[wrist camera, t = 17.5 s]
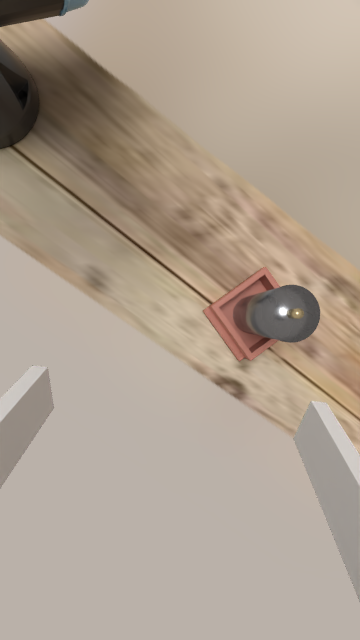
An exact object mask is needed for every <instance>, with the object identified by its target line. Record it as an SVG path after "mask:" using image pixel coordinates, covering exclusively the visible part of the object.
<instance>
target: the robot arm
mask: <svg viewBox="0 0 360 640" xmlns="http://www.w3.org/2000/svg"><path fill="white" fill-rule="evenodd" d="M88 1H89V0H0V27H2V26H7V25H12V24H17V23H23V22H28V21H33V20H38V19H44V18H48V17H54V16H63V15H65V13H66V12H68V11H71V10H74V9H78V8H81V7H83V6H84V5H86V4H87V2H88ZM38 108H39V97H38V92H37V88H36V85H35V83H34V81H33V79H32V77H31V76H30V74H29V72H28V71H27V69H26V67H25V66H24V64H23V63H22V61H21V60H20V59H19V58H18V56H17V55H16V54H15V53H14V52H13V51H12V50H11V49H10V48H9V47H8V46H7V45H5V44H4V43H3V42H2V41H1V40H0V148H4V147H7V146H10V145H12V144H14V143H16V142H18V141H19V140H21V139H22V138H23V137H24V136H25V135H26V134H27V133H28V132H29V131H30V129H31V128H32V126H33V124H34V122H35V120H36V117H37V114H38ZM53 408H54V406H53V399H52V393H51V387H50V380H49V373H48V367H42V366H34V365H32V366H31V367H30V368H29V369H28V370H27V371H26V372H25V373H24V374H23V375H22V376H21V377H20V378H19V380H17V382H16V383H15V384H14V385H13V386H12V387H11V388H10V389H9V390H8V391H7V392H6V393H5V394H4V395H3V396H2V397H1V398H0V488H1V486H2V485H3V483H4V482H5V480H6V479H7V477H8V476H9V474H10V473H11V471H12V470H13V468H14V467H15V465H16V464H17V462H18V461H19V459H20V458H21V456H22V455H23V453H24V452H25V450H26V449H27V447H28V446H29V444H30V443H31V441H32V440H33V438H34V437H35V435H36V434H37V432H38V431H39V429H40V428H41V426H42V425H43V423H44V422H45V420H46V419H47V417H48V416H49V414H50V413H51V411H52V410H53ZM293 439H294V441H295V444H296V446H297V449H298V451H299V453H300V456H301V458H302V461H303V463H304V466H305V468H306V471H307V473H308V475H309V478H310V481H311V483H312V485H313V488H314V490H315V493H316V495H317V498H318V500H319V503H320V505H321V507H322V510H323V512H324V515H325V517H326V520H327V522H328V525H329V527H330V530H331V532H332V535H333V537H334V540H335V542H336V544H337V547H338V549H339V552H340V554H341V557H342V559H343V562H344V564H345V567H346V569H347V571H348V574H349V576H350V579H351V581H352V584H353V586H354V589H355V591H356V594H357V596H358V599H359V601H360V455H359V453H358V452H357V450H356V448H355V447H354V445H353V444H352V442H351V441H350V439H349V437H348V436H347V434H346V433H345V431H344V430H343V428H342V426H341V425H340V423H339V422H338V420H337V419H336V417H335V415H334V414H333V412H332V411H331V409H330V408H329V406H328V405H327V403H324V402H316V401H311V402H310V404H309V406H308V408H307V411H306V413H305V415H304V417H303V419H302V421H301V423H300V425H299V427H298V430H297V432H296V434H295V436H294V438H293Z"/></svg>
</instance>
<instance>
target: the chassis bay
mask: <svg viewBox="0 0 360 640" xmlns="http://www.w3.org/2000/svg"><path fill="white" fill-rule="evenodd" d="M279 287H280V286H279V285H278V283H277V282H276V280H275V279H274V278H273V276H272V275H271V273H270V272H269V271H268V269H267V268H266V267H265V268H264V267H263V268H261V269H260V270H259V271H257V272H256V273H254V274H253V275H252V276H250V277H249V278H247V279H246V280H245V281H243V282H242V283H241V284H239V285H238V286H236V287H235V288H234V289H232V290H231V291H229V292H228V293H227V294H225V295H224V296H223V297H221V298H220V299H218V300H217V301H216V302H214V303H213V304H211V305H210V306H209V307H207V308H206V309H205V310H203V312H204V314H205V315H206V316H207V318H208V319H209V321H210V322H211V323H212V325H213V326H214V327H215V329H216V330H217V332H218V333H219V334H220V336H221V337H222V339H223V340H224V341H225V343H226V344H227V346H228V347H229V348H230V350H231V351H232V353H233V354H234V355H235V357H236V358H237V360H239V361H241V360H242V359H243V358H246V359H248V360H250V361H251V360H252V359H254V358H255V357H256V356H258V355H259V354H260V353H262V352H263V351H265V350H266V349H267V348H269V347H270V346H271V345H273V344H274V343H276V342H277V341H278V340H276V339H271V338H267V337H263V336H259V335H254V334H250V333H246V332H244V331H242V330H240V329H239V328H238V327H237V326H236V324H235V322H234V319H233V310H234V307H235V305H236V304H237V302H238V301H240V300H241V299H242V298H244V297H247V296H251V295H254V294H258V293H261V292H265V291H268V290H272V289H275V288H279Z"/></svg>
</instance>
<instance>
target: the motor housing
mask: <svg viewBox="0 0 360 640" xmlns="http://www.w3.org/2000/svg"><path fill="white" fill-rule="evenodd" d="M233 319H234V322H235V324H236V326H237V327H238V328H239V329H240V330H242V331H244V332H246V333H250V334H254V335H259V336H263V337H267V338H271V339H276V340H280V341H284V342H298V341H302V340H304V339H306V338H307V337H309V336H310V335H311V334H312V333H313V332H314V330H315V329H316V327H317V325H318V323H319V319H320V308H319V304H318V302H317V300H316V298H315V297H314V295H313V294H312V293H311V292H310V291H308V290H307V289H305V288H304V287H301V286H297V285H286V286H282V287H279V288H275V289H272V290H268V291H265V292H261V293H258V294H254V295H251V296H247V297H244V298H242V299H241V300H240V301H238V302H237V304H236V305H235V307H234V310H233Z"/></svg>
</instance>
